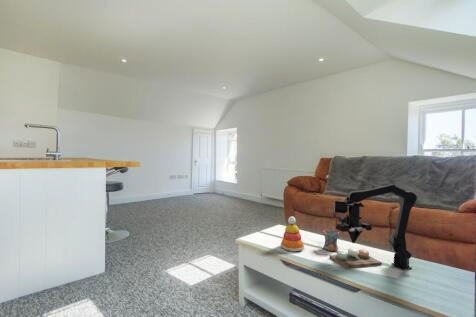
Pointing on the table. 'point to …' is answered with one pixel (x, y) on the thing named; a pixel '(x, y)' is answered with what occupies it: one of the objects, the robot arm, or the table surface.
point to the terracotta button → (363, 253)
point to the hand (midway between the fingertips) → (353, 242)
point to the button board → (355, 261)
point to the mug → (331, 240)
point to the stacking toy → (292, 237)
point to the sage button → (342, 255)
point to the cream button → (352, 252)
